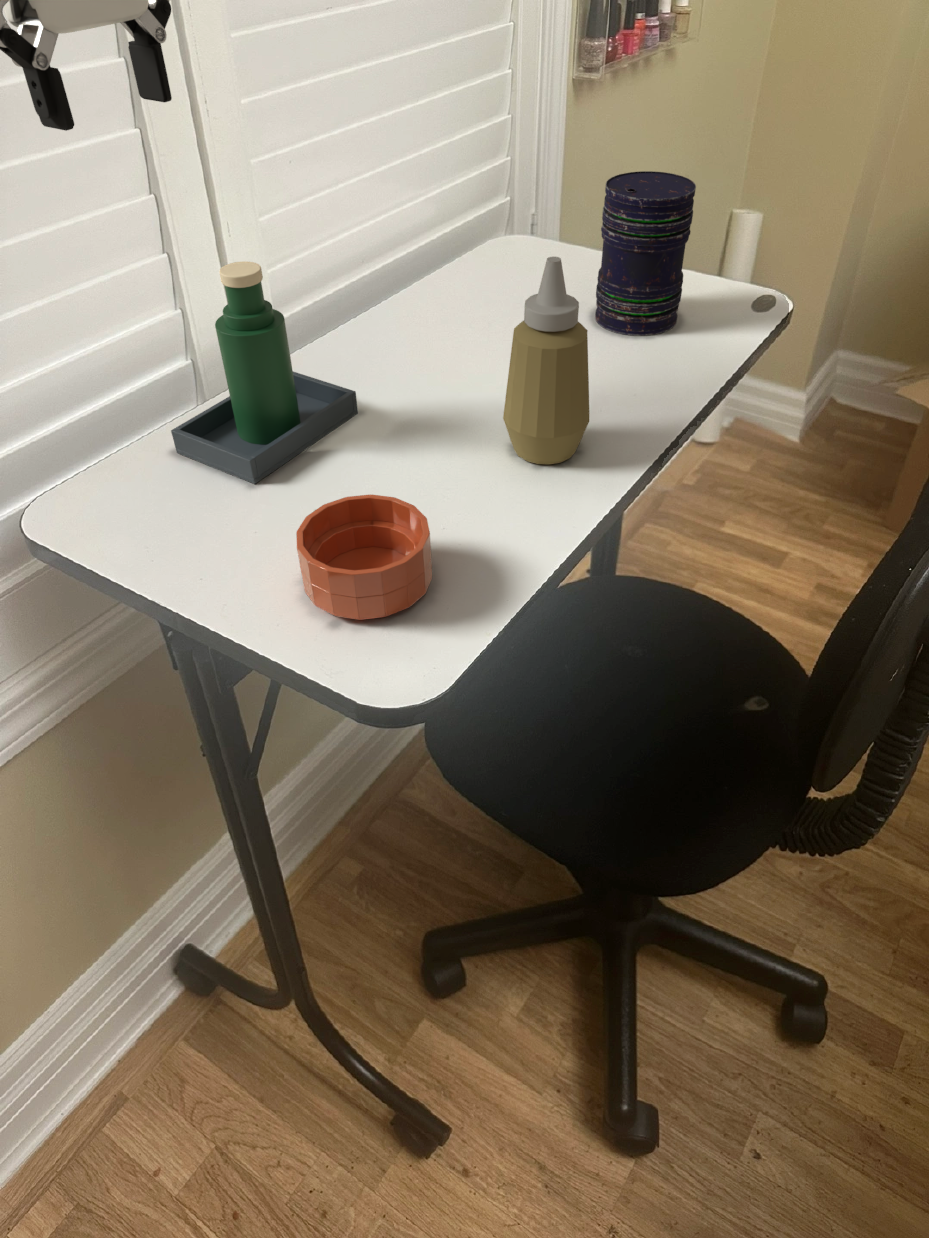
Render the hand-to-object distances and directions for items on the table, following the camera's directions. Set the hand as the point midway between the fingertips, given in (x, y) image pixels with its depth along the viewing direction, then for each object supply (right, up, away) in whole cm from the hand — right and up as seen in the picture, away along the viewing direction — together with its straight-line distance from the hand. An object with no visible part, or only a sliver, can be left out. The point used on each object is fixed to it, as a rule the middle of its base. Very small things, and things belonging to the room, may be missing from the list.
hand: (109, 113), depth 71 cm
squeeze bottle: (+36, -24, +15) cm, 46 cm away
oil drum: (+48, -4, +37) cm, 61 cm away
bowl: (+20, -37, +1) cm, 42 cm away
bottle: (+9, -21, +18) cm, 29 cm away
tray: (+9, -21, +18) cm, 29 cm away
